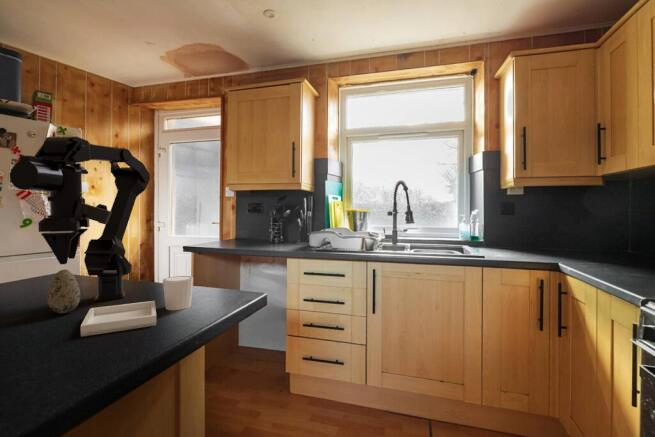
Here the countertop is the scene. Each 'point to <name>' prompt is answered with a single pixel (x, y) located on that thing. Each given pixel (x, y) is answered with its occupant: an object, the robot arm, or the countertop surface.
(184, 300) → the white cup
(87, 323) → the tray
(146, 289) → the countertop surface
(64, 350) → the countertop surface
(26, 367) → the countertop surface
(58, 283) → the decorative egg
